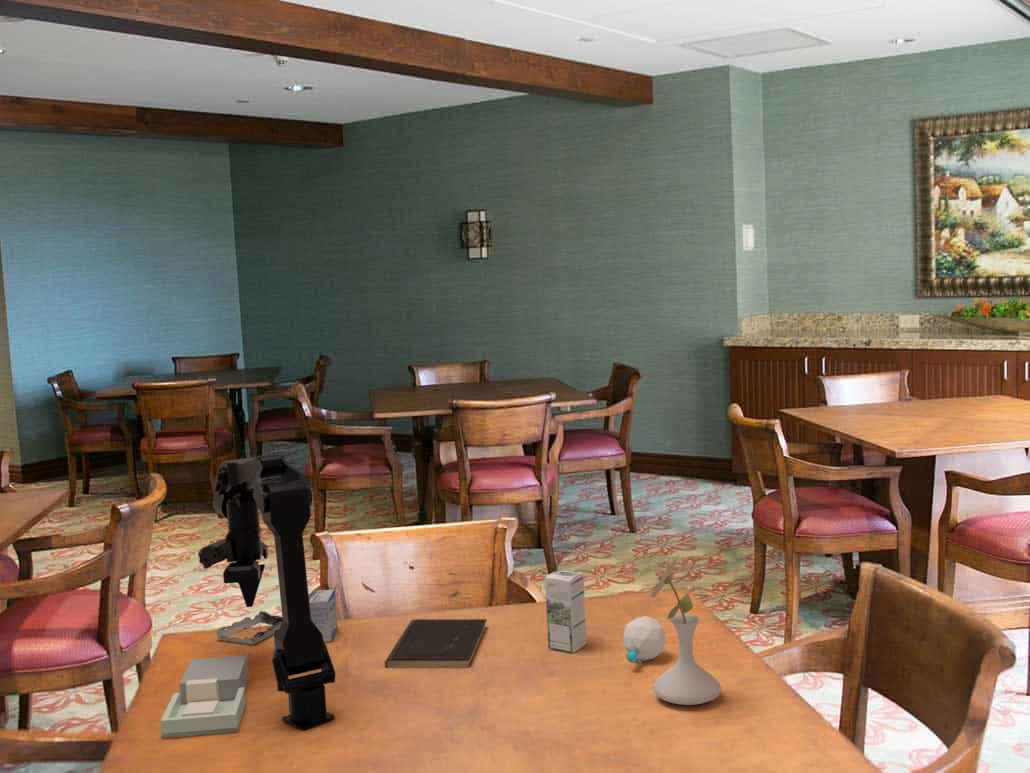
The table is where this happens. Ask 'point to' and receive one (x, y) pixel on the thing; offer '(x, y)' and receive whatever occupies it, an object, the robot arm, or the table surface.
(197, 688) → the rear tile
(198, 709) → the front tile
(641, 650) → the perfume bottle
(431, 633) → the hardcover book
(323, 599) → the medicine box
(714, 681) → the flower in vase
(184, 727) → the box
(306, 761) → the table surface
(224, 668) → the grey rounded box
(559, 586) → the syrup box
